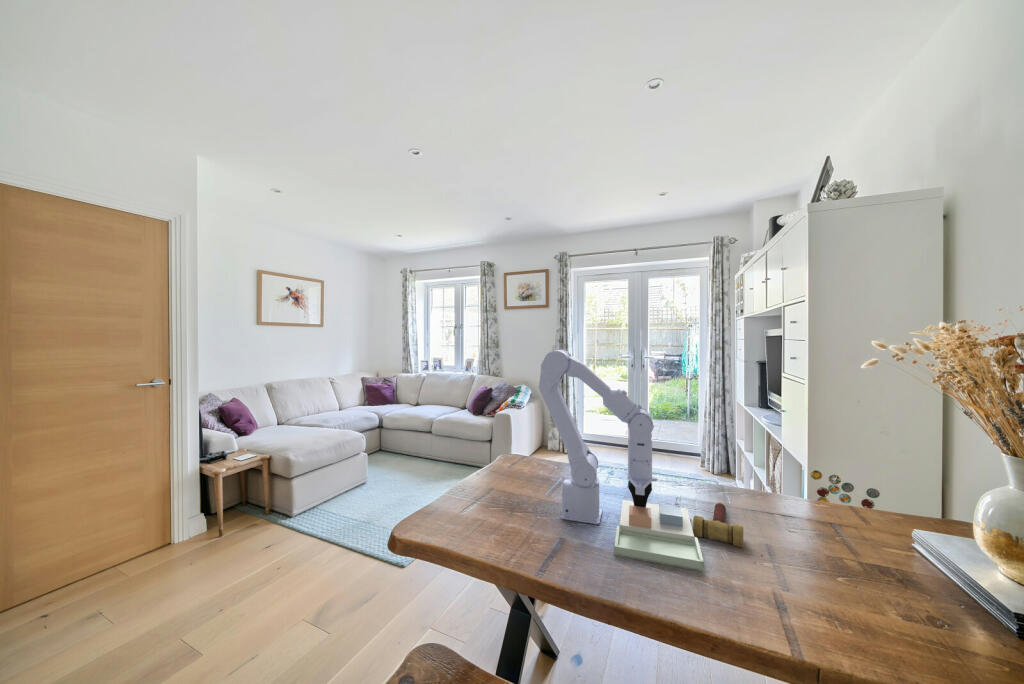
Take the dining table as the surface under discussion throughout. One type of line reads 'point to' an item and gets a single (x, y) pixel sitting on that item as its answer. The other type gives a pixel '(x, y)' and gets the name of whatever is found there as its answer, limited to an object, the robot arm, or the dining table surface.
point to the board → (657, 524)
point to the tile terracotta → (640, 516)
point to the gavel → (718, 528)
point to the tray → (659, 550)
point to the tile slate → (670, 515)
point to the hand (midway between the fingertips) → (639, 511)
